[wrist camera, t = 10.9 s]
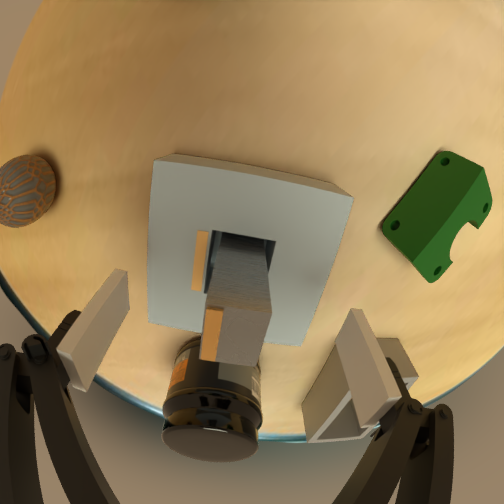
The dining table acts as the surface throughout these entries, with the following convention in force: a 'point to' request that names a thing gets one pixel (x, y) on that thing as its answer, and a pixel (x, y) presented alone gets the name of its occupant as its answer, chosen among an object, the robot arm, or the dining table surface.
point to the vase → (25, 190)
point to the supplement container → (212, 408)
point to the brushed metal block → (237, 302)
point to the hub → (243, 223)
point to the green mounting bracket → (438, 212)
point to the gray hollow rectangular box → (344, 397)
